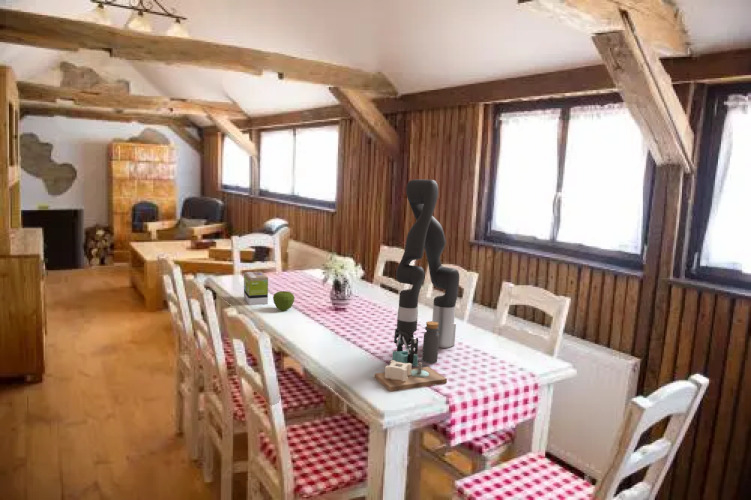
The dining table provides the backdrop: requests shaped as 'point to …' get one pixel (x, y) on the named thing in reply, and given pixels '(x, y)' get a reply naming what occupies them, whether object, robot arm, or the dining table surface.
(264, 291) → the tea box
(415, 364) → the teal gear
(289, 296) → the apple
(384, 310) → the dining table surface
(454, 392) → the dining table surface
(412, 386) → the board
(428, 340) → the bottle
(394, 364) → the cream gear
